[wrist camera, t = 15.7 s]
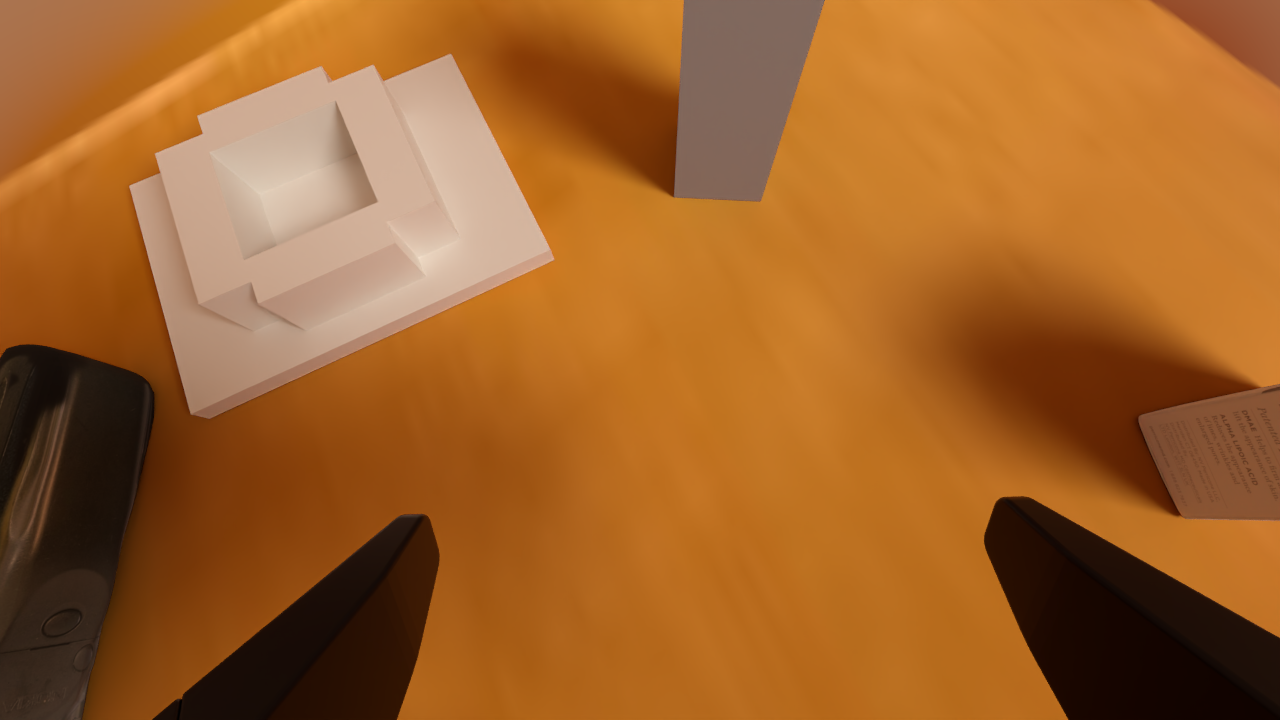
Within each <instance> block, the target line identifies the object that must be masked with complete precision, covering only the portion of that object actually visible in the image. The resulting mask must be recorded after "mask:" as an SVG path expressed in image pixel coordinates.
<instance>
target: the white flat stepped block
mask: <svg viewBox="0 0 1280 720" xmlns="http://www.w3.org/2000/svg"><path fill="white" fill-rule="evenodd" d="M197 117H198V120H199V123H200V126H201V129H202V132H203V134H202V135H199V136H197V137H194V138H192V139H189V140H187V141H185V142H182V143H180V144H177V145H175V146H172V147H170V148H167V149H165V150H162V151H160V152H157V153H155V155H156V159H157V162H158V166H159V169H160V172H161V173H159V174H156V175H154V176H152V177H149V178H147V179H144V180H142V181H139V182H137V183H134V184H132V185H130V186H129V187H130V190H131V194H132V198H133V202H134V205H135V209H136V213H137V217H138V220H139V224H140V228H141V231H142V235H143V239H144V243H145V246H146V250H147V254H148V257H149V261H150V265H151V269H152V272H153V276H154V280H155V284H156V287H157V291H158V295H159V298H160V302H161V306H162V310H163V313H164V317H165V321H166V324H167V328H168V332H169V336H170V339H171V343H172V347H173V351H174V354H175V358H176V362H177V365H178V369H179V373H180V377H181V380H182V384H183V388H184V391H185V395H186V399H187V403H188V406H189V410H190V414H191V415H196V416H200V417H204V418H208V419H210V418H212V417H215V416H217V415H219V414H221V413H223V412H225V411H228V410H230V409H232V408H234V407H236V406H238V405H241V404H243V403H245V402H247V401H249V400H251V399H254V398H256V397H258V396H260V395H262V394H264V393H267V392H269V391H271V390H273V389H275V388H277V387H280V386H282V385H284V384H286V383H288V382H291V381H293V380H295V379H297V378H299V377H301V376H304V375H306V374H308V373H310V372H312V371H314V370H317V369H319V368H321V367H323V366H325V365H327V364H330V363H332V362H334V361H336V360H338V359H340V358H343V357H345V356H347V355H349V354H351V353H353V352H356V351H358V350H360V349H362V348H364V347H366V346H369V345H371V344H373V343H375V342H377V341H380V340H382V339H384V338H386V337H388V336H390V335H393V334H395V333H397V332H399V331H401V330H403V329H406V328H408V327H410V326H412V325H414V324H416V323H419V322H421V321H423V320H425V319H427V318H429V317H432V316H434V315H436V314H438V313H440V312H442V311H445V310H447V309H449V308H451V307H453V306H456V305H458V304H460V303H462V302H464V301H466V300H469V299H471V298H473V297H475V296H477V295H479V294H482V293H484V292H486V291H488V290H490V289H492V288H495V287H497V286H499V285H501V284H503V283H505V282H508V281H510V280H512V279H514V278H516V277H518V276H521V275H523V274H525V273H527V272H529V271H532V270H534V269H536V268H538V267H540V266H542V265H545V264H547V263H549V262H551V261H553V260H554V258H553V255H552V252H551V250H550V248H549V246H548V244H547V242H546V240H545V238H544V236H543V234H542V232H541V230H540V228H539V226H538V224H537V222H536V220H535V218H534V216H533V214H532V212H531V210H530V208H529V206H528V204H527V202H526V200H525V198H524V196H523V195H522V193H521V191H520V189H519V187H518V185H517V183H516V181H515V179H514V177H513V175H512V173H511V171H510V169H509V167H508V165H507V163H506V161H505V159H504V157H503V155H502V153H501V151H500V149H499V147H498V145H497V143H496V141H495V139H494V137H493V135H492V133H491V131H490V129H489V127H488V125H487V123H486V121H485V120H484V118H483V116H482V114H481V112H480V110H479V108H478V106H477V104H476V102H475V100H474V98H473V96H472V94H471V92H470V90H469V88H468V86H467V84H466V82H465V80H464V78H463V76H462V74H461V72H460V70H459V68H458V66H457V64H456V62H455V60H454V58H453V56H452V54H449V55H446V56H444V57H441V58H439V59H437V60H434V61H432V62H429V63H427V64H424V65H422V66H420V67H417V68H415V69H412V70H410V71H407V72H405V73H402V74H400V75H398V76H395V77H393V78H390V79H388V80H385V81H383V80H382V78H381V76H380V75H379V73H378V71H377V70H376V68H375V67H374V65H372V66H369V67H367V68H364V69H362V70H359V71H357V72H354V73H352V74H349V75H347V76H344V77H342V78H340V79H337V80H335V81H332V80H331V79H330V77H329V76H328V74H327V73H326V72H325V70H324V69H323V68H322V66H320V67H318V68H315V69H313V70H310V71H308V72H305V73H303V74H300V75H298V76H295V77H293V78H290V79H288V80H285V81H283V82H280V83H278V84H275V85H273V86H270V87H268V88H265V89H263V90H260V91H258V92H255V93H253V94H250V95H248V96H245V97H243V98H241V99H238V100H236V101H233V102H231V103H228V104H226V105H223V106H221V107H218V108H216V109H213V110H211V111H208V112H206V113H203V114H201V115H198V116H197Z"/></svg>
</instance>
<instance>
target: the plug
mask: <svg viewBox="0 0 1280 720" xmlns="http://www.w3.org/2000/svg"><path fill="white" fill-rule="evenodd" d="M824 1H825V0H684V12H683V31H682V50H681V70H680V89H679V109H678V128H677V147H676V167H675V186H674V197H680V198H701V199H722V200H743V201H761V199H762V196H763V192H764V189H765V186H766V183H767V180H768V177H769V174H770V170H771V167H772V164H773V161H774V158H775V155H776V152H777V148H778V145H779V142H780V139H781V136H782V133H783V129H784V126H785V123H786V120H787V117H788V114H789V111H790V107H791V104H792V101H793V98H794V95H795V92H796V89H797V85H798V82H799V79H800V76H801V73H802V70H803V67H804V63H805V60H806V57H807V54H808V51H809V48H810V45H811V41H812V38H813V35H814V32H815V29H816V26H817V23H818V19H819V16H820V13H821V10H822V7H823V4H824Z"/></svg>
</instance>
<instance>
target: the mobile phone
mask: <svg viewBox="0 0 1280 720" xmlns="http://www.w3.org/2000/svg"><path fill="white" fill-rule="evenodd" d="M153 418H154V392H153V391H152V388H151V386H150V384H149V383H148V382H147V381H146V380H145V379H144V378H143V377H141V376H140V375H138V374H136V373H133V372H131V371H128V370H125V369H122V368H119V367H116V366H113V365H110V364H106V363H103V362H100V361H97V360H94V359H90V358H87V357H84V356H81V355H78V354H74V353H70V352H67V351H63V350H58V349H55V348H51V347H47V346H41V345H28V344H27V345H18V346H14V347H10V348H8V349H6V350H5V352H4V353H3V355H2V356H1V358H0V720H82V716H83V710H84V705H85V699H86V694H87V688H88V682H89V677H90V673H91V670H92V667H93V665H94V662H95V657H96V653H97V649H98V644H99V638H100V633H101V628H102V624H103V621H104V618H105V615H106V612H107V609H108V606H109V602H110V599H111V595H112V591H113V586H114V581H115V576H116V571H117V566H118V561H119V556H120V551H121V546H122V542H123V538H124V534H125V531H126V527H127V524H128V520H129V517H130V514H131V511H132V507H133V504H134V500H135V496H136V492H137V488H138V484H139V480H140V475H141V471H142V467H143V462H144V458H145V454H146V450H147V446H148V442H149V437H150V433H151V428H152V423H153Z"/></svg>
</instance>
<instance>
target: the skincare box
mask: <svg viewBox="0 0 1280 720" xmlns="http://www.w3.org/2000/svg"><path fill="white" fill-rule="evenodd" d="M1138 422H1139V425H1140V428H1141V430H1142V432H1143V435H1144V438H1145V440H1146V443H1147V445H1148V447H1149V450H1150V452H1151V455H1152V457H1153V459H1154V461H1155V463H1156V466H1157V468H1158V470H1159V472H1160V475H1161V477H1162V479H1163V481H1164V483H1165V485H1166V487H1167V489H1168V491H1169V493H1170V496H1171V498H1172V499H1173V501H1174V503H1175V505H1176V507H1177V509H1178V511H1179V512H1180V514H1181V516H1182V517H1184V518H1186V519H1209V520H1262V521H1280V384H1277V385H1272V386H1267V387H1262V388H1258V389H1253V390H1248V391H1243V392H1238V393H1233V394H1229V395H1224V396H1219V397H1215V398H1210V399H1205V400H1201V401H1196V402H1192V403H1187V404H1183V405H1178V406H1174V407H1170V408H1166V409H1162V410H1158V411H1154V412H1150V413H1146V414H1143V415H1140V416H1139V420H1138Z"/></svg>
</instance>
